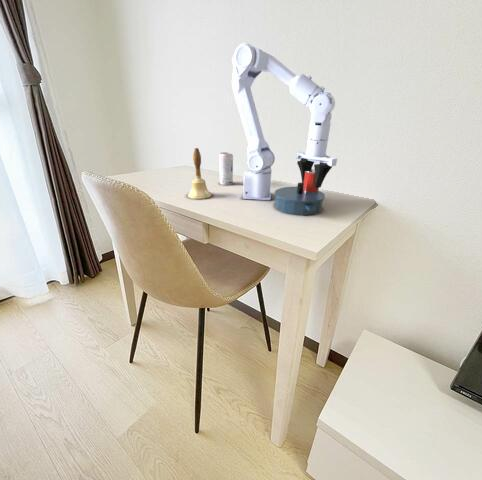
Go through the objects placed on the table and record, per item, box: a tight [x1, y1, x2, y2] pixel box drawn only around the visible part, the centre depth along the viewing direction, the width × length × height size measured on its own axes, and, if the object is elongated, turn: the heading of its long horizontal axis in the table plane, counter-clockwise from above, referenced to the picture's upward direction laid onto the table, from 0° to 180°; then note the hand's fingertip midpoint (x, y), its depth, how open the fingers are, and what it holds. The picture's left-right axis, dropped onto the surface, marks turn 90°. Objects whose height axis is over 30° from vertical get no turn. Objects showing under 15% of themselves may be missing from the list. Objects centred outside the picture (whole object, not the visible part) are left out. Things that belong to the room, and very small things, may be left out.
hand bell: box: [187, 147, 212, 200], centre depth 88 cm, size 8×8×16 cm
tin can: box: [303, 168, 320, 193], centre depth 81 cm, size 5×5×6 cm
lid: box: [274, 182, 326, 203], centre depth 80 cm, size 15×15×4 cm
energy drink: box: [218, 151, 234, 186], centre depth 104 cm, size 5×5×12 cm
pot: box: [274, 195, 324, 216], centre depth 81 cm, size 14×20×4 cm
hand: (311, 185), depth 82 cm, fingers closed on tin can, 5 cm apart
